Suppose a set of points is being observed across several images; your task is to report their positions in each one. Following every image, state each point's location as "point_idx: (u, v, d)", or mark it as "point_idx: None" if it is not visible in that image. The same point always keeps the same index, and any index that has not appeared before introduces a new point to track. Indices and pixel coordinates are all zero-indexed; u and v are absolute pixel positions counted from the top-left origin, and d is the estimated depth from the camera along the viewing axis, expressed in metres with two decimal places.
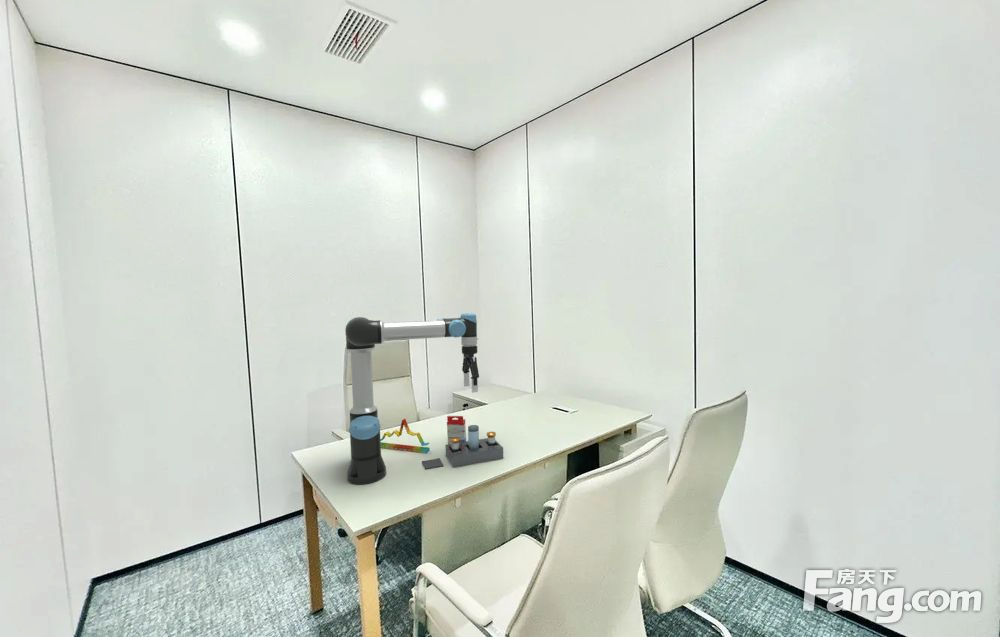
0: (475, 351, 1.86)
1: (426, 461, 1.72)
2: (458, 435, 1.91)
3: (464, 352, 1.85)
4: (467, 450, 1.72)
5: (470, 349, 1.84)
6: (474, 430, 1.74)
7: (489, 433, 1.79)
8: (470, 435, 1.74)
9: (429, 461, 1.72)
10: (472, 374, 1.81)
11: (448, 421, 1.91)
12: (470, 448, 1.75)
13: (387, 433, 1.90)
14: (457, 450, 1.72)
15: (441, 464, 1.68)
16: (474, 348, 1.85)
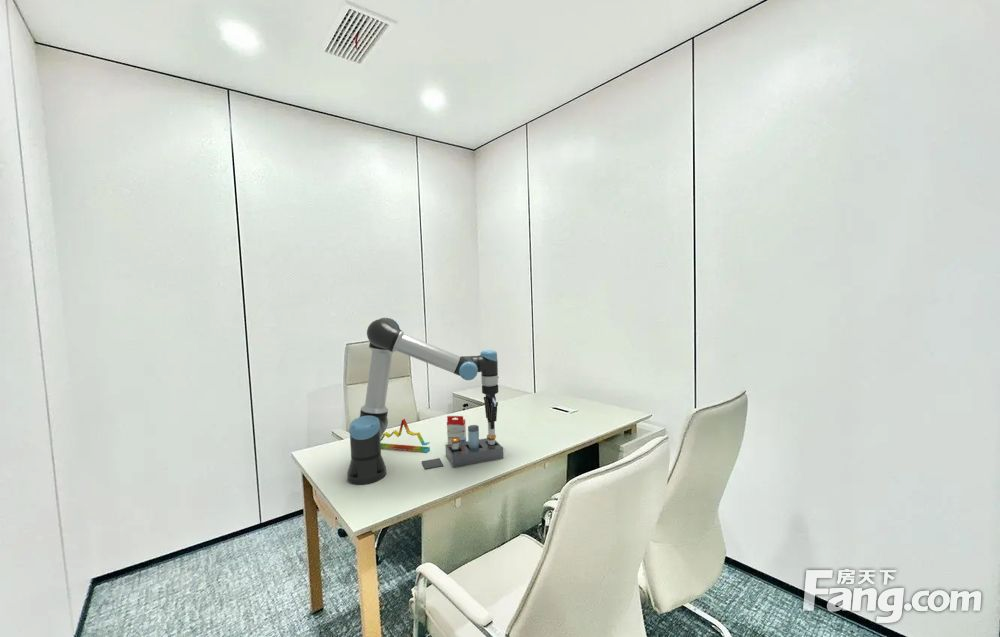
0: (496, 391, 1.76)
1: (426, 461, 1.72)
2: (458, 435, 1.91)
3: (485, 392, 1.75)
4: (467, 450, 1.72)
5: (491, 389, 1.75)
6: (474, 430, 1.74)
7: (489, 436, 1.79)
8: (470, 435, 1.74)
9: (429, 461, 1.72)
10: (490, 418, 1.77)
11: (448, 421, 1.91)
12: (470, 448, 1.75)
13: (386, 434, 1.90)
14: (457, 450, 1.72)
15: (441, 464, 1.68)
16: (495, 388, 1.76)
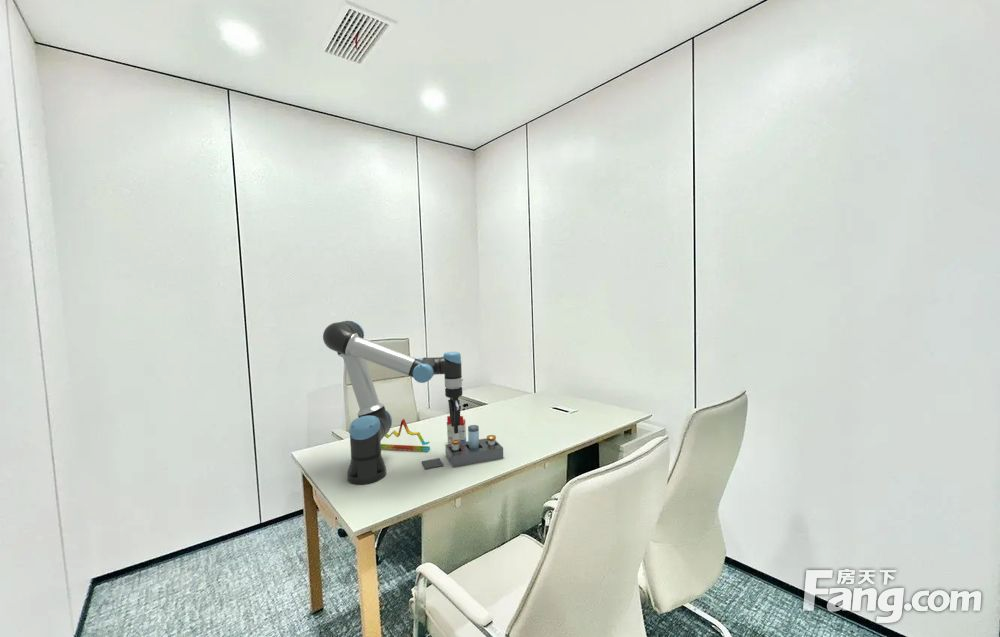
0: (460, 394, 1.70)
1: (426, 461, 1.72)
2: None
3: (448, 395, 1.69)
4: (467, 450, 1.72)
5: (454, 392, 1.68)
6: (474, 430, 1.74)
7: (489, 436, 1.79)
8: (470, 435, 1.74)
9: (429, 461, 1.72)
10: (453, 422, 1.71)
11: (448, 421, 1.91)
12: (470, 448, 1.75)
13: None
14: (457, 451, 1.72)
15: (441, 464, 1.68)
16: (458, 391, 1.69)
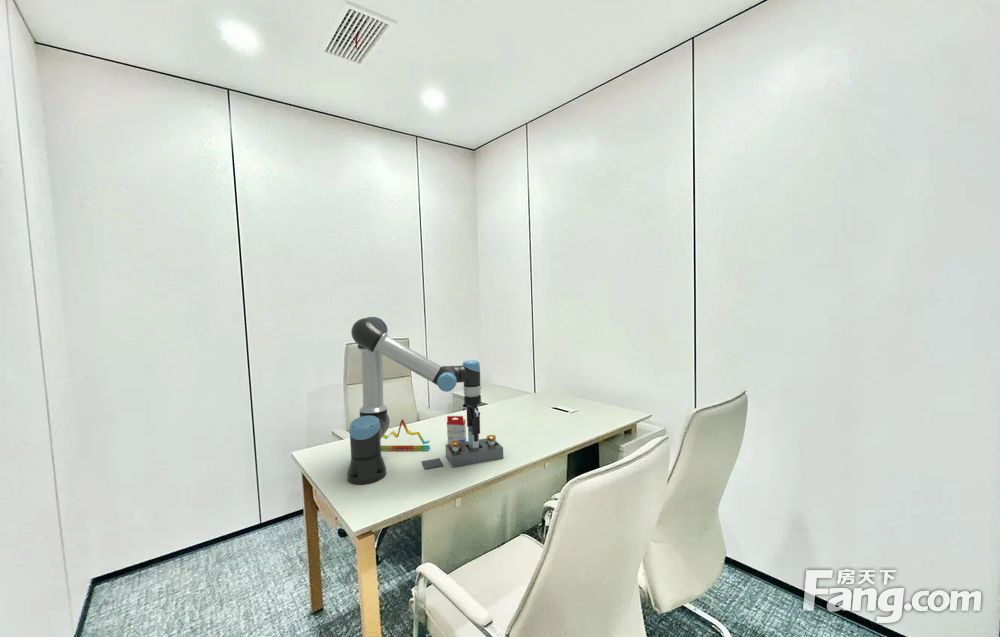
0: (478, 402, 1.73)
1: (426, 461, 1.72)
2: (458, 435, 1.91)
3: (467, 403, 1.73)
4: (467, 450, 1.72)
5: (473, 400, 1.72)
6: None
7: (489, 436, 1.79)
8: (470, 435, 1.74)
9: (429, 461, 1.72)
10: (473, 430, 1.72)
11: (448, 421, 1.91)
12: (470, 448, 1.75)
13: (383, 435, 1.88)
14: None
15: (441, 464, 1.68)
16: (477, 398, 1.73)
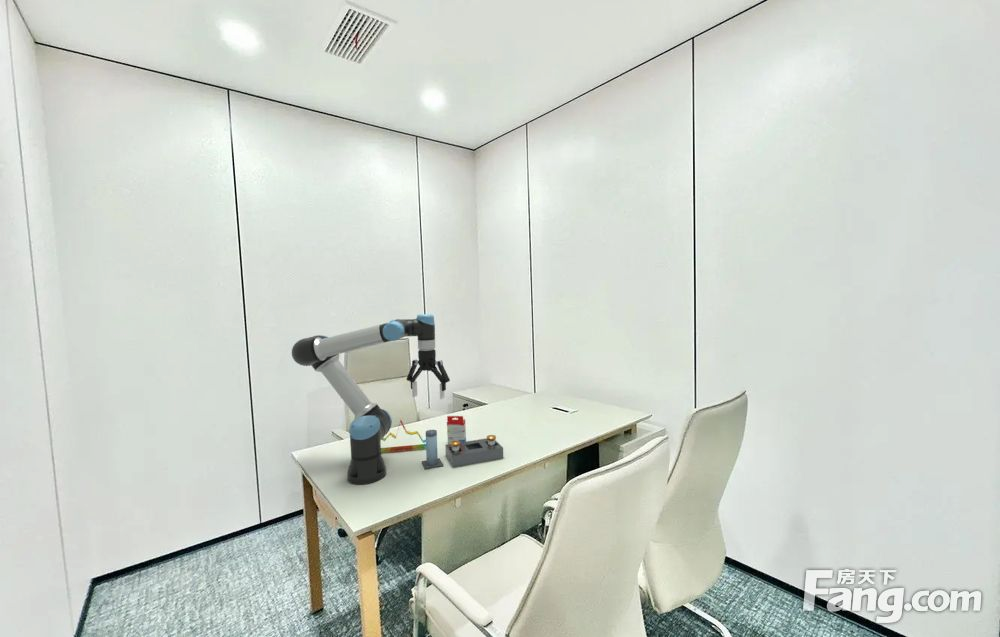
0: (435, 355, 1.72)
1: (426, 461, 1.72)
2: (458, 435, 1.91)
3: (427, 357, 1.68)
4: (467, 450, 1.72)
5: (433, 353, 1.69)
6: (435, 434, 1.68)
7: (489, 436, 1.79)
8: (432, 440, 1.67)
9: None
10: (441, 379, 1.68)
11: (448, 421, 1.91)
12: (432, 454, 1.68)
13: None
14: None
15: (441, 464, 1.68)
16: (435, 351, 1.71)
